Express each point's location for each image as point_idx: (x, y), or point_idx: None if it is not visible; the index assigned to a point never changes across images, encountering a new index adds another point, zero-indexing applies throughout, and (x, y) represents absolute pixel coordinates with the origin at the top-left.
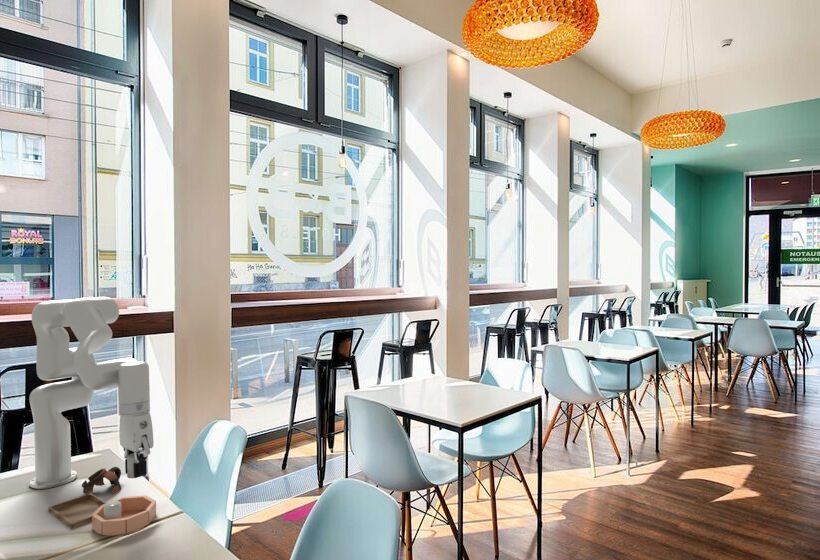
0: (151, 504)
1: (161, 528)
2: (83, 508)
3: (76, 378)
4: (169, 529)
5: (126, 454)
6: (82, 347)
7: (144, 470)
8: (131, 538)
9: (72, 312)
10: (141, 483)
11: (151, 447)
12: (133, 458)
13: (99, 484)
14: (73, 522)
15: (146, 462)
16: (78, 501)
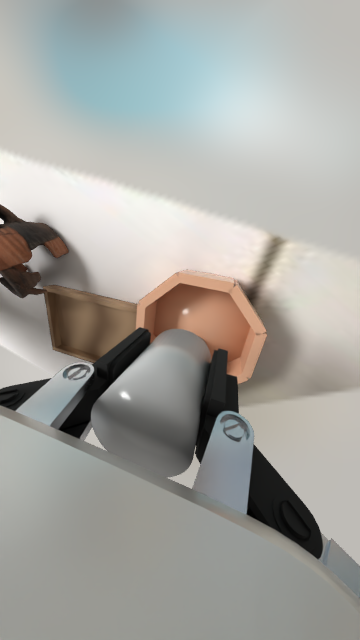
0: (242, 304)
1: (296, 312)
2: (86, 320)
3: None
4: (322, 308)
5: (82, 440)
6: None
7: (237, 384)
8: (263, 360)
9: None
10: (47, 174)
11: (353, 616)
12: (176, 472)
13: (35, 282)
14: None
15: (224, 388)
16: (55, 308)
